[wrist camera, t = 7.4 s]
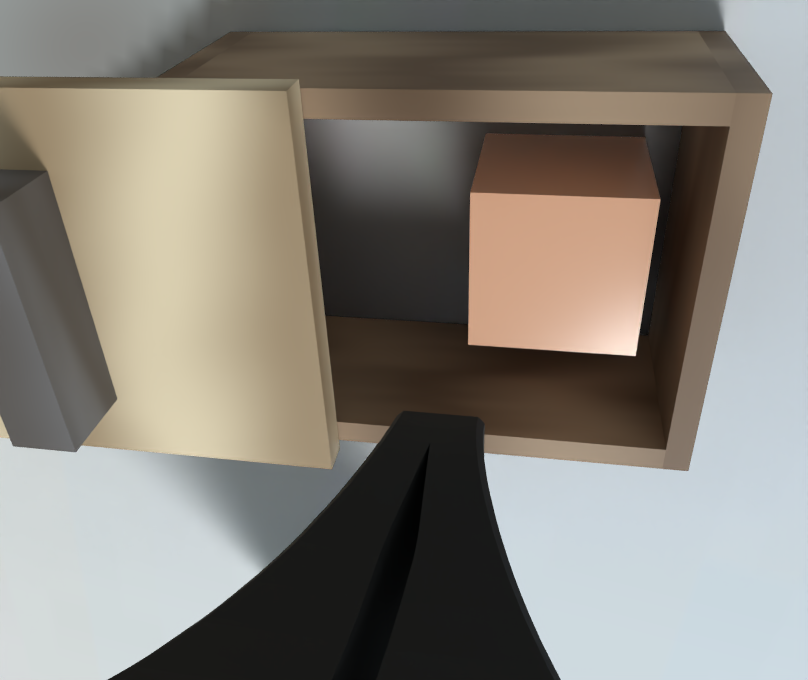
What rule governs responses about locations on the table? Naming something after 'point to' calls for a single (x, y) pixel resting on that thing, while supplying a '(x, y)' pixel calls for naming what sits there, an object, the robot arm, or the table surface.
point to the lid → (161, 270)
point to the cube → (561, 242)
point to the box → (541, 103)
